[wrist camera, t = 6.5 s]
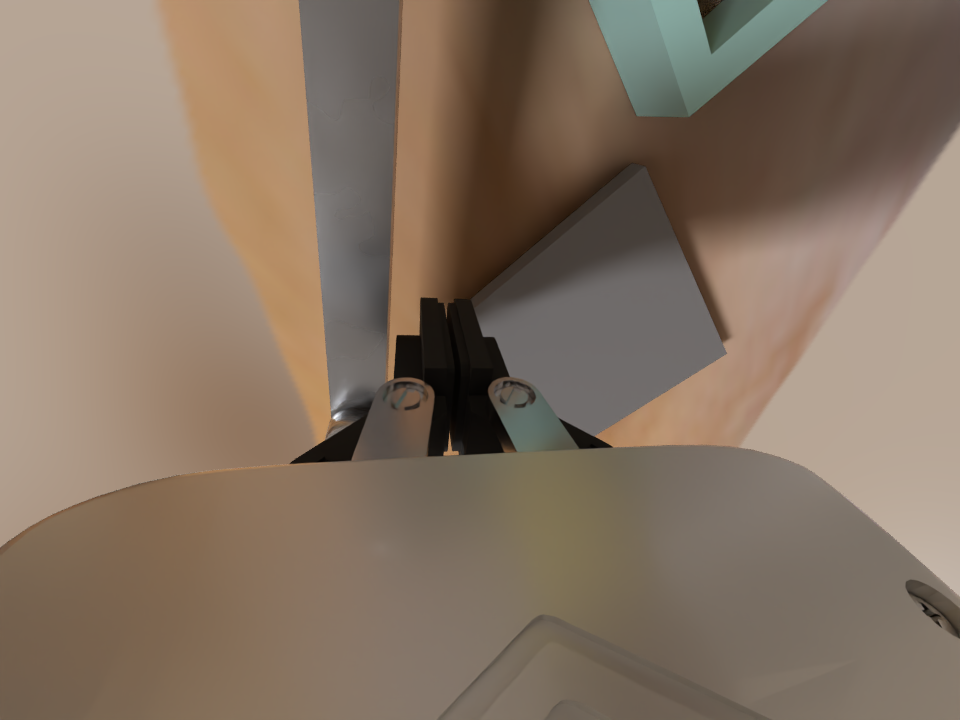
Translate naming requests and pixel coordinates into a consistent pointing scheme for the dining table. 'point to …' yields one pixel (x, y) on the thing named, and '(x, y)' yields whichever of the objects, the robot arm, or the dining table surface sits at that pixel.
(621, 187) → the pad
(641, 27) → the teal square frame
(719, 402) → the dining table surface
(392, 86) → the bar
